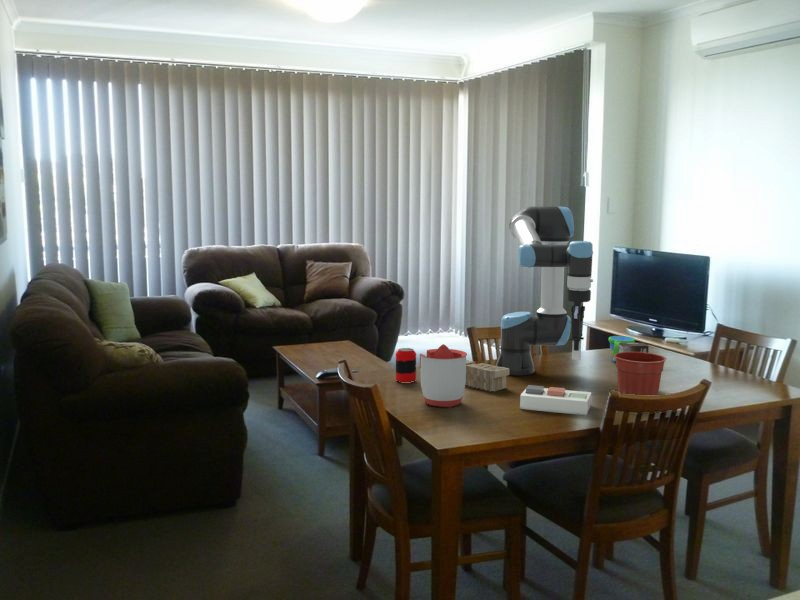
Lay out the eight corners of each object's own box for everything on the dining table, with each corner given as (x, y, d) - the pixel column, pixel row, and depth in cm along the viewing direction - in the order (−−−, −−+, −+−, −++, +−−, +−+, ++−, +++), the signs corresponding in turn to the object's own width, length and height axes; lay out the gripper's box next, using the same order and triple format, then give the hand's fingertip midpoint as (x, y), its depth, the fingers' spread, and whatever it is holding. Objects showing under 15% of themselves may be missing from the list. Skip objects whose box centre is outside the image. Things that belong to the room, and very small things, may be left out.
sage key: (568, 406, 241) (569, 397, 240) (570, 402, 245) (571, 393, 245) (584, 407, 239) (585, 398, 239) (586, 403, 244) (586, 394, 243)
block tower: (436, 381, 284) (495, 393, 263) (435, 359, 283) (495, 369, 262) (450, 377, 290) (509, 389, 268) (449, 356, 289) (509, 366, 267)
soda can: (420, 380, 280) (420, 349, 278) (406, 384, 274) (406, 352, 273) (405, 377, 285) (405, 346, 283) (391, 381, 279) (391, 349, 278)
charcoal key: (525, 397, 245) (525, 388, 245) (528, 393, 250) (528, 385, 250) (540, 398, 244) (541, 389, 243) (543, 395, 248) (543, 386, 248)
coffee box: (642, 385, 274) (644, 342, 272) (647, 389, 267) (649, 345, 265) (617, 385, 274) (619, 342, 272) (621, 389, 268) (623, 345, 266)
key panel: (520, 408, 243) (520, 395, 242) (527, 399, 254) (527, 386, 254) (586, 415, 236) (587, 401, 235) (590, 405, 247) (591, 392, 246)
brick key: (547, 399, 243) (547, 390, 243) (549, 395, 248) (549, 386, 247) (562, 400, 241) (562, 391, 241) (564, 397, 246) (565, 388, 246)
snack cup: (625, 366, 304) (626, 342, 302) (601, 363, 310) (602, 339, 309) (640, 360, 316) (641, 336, 315) (616, 357, 322) (617, 334, 321)
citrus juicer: (426, 394, 261) (426, 337, 258) (473, 400, 253) (473, 342, 251) (407, 405, 247) (407, 345, 244) (456, 411, 239) (457, 350, 237)
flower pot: (672, 403, 249) (675, 356, 247) (649, 413, 238) (651, 364, 236) (627, 394, 261) (629, 349, 259) (602, 403, 249) (604, 356, 247)
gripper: (588, 292, 236) (585, 365, 240) (593, 286, 248) (590, 356, 252) (564, 291, 239) (561, 362, 242) (570, 285, 251) (567, 354, 254)
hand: (576, 359), depth 247 cm, fingers closed
